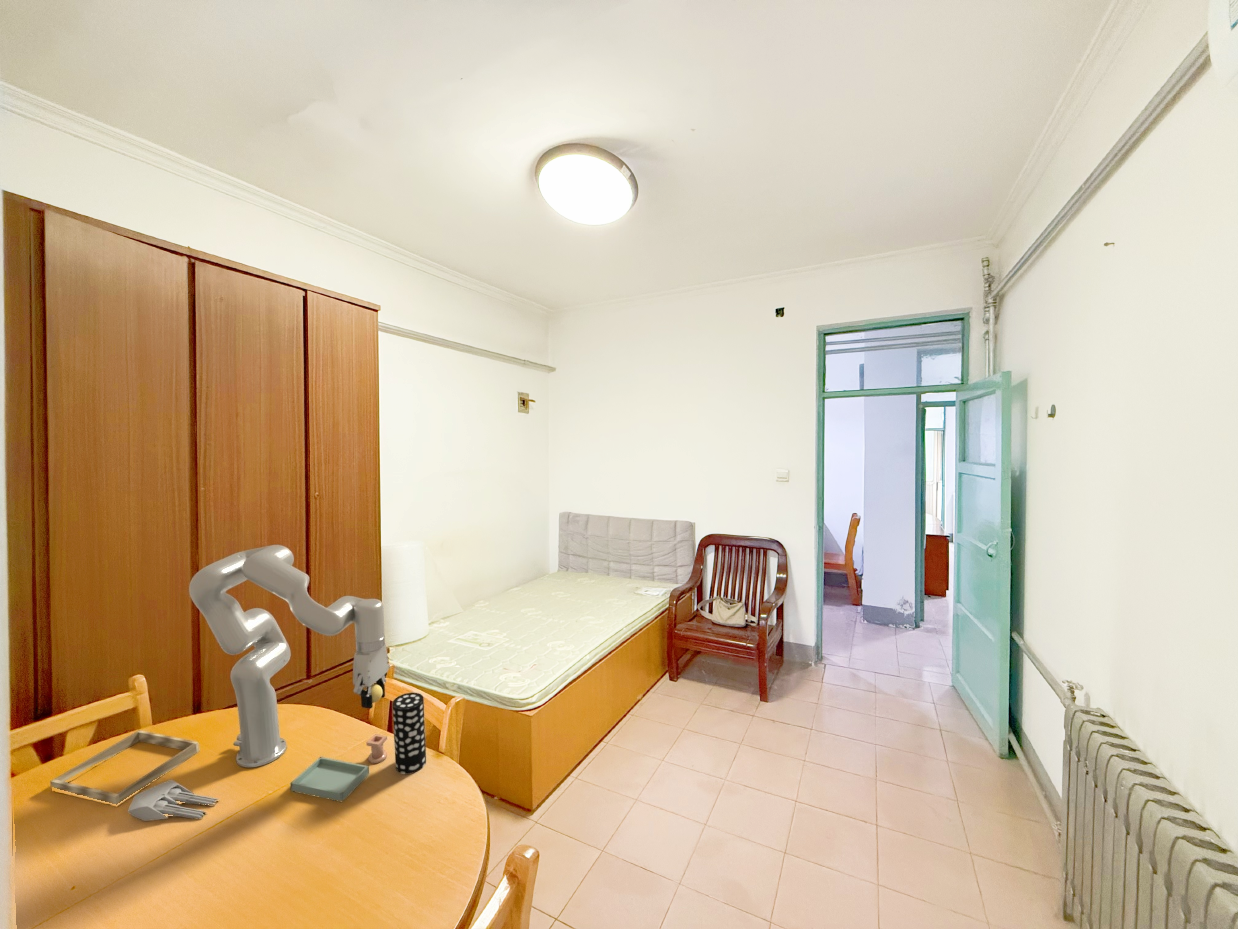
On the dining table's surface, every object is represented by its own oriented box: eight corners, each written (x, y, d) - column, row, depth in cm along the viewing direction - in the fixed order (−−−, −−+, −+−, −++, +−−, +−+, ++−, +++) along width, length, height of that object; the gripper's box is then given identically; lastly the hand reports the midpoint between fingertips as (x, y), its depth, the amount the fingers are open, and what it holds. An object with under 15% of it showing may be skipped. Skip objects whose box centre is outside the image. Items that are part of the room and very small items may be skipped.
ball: (360, 705, 161) (359, 688, 160) (371, 695, 166) (370, 679, 165) (375, 707, 160) (374, 691, 159) (386, 698, 165) (385, 682, 164)
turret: (195, 834, 141) (196, 817, 140) (116, 819, 141) (117, 803, 140) (224, 804, 151) (225, 788, 150) (151, 790, 151) (151, 775, 150)
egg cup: (364, 761, 164) (363, 743, 163) (375, 750, 169) (374, 732, 168) (379, 764, 163) (378, 746, 162) (390, 753, 168) (389, 735, 167)
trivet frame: (51, 791, 151) (50, 781, 150) (140, 739, 173) (138, 730, 172) (116, 807, 146) (115, 796, 145) (199, 751, 167) (198, 742, 167)
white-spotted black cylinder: (416, 776, 159) (413, 711, 156) (389, 771, 160) (386, 707, 157) (431, 756, 167) (429, 694, 164) (406, 752, 168) (403, 691, 165)
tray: (291, 791, 152) (290, 783, 152) (321, 764, 163) (320, 756, 162) (342, 802, 149) (341, 794, 148) (369, 773, 159) (368, 766, 159)
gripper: (378, 628, 169) (380, 684, 172) (338, 655, 153) (341, 717, 156) (400, 631, 167) (402, 688, 170) (362, 659, 151) (365, 721, 154)
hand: (373, 701), depth 163 cm, fingers closed on ball, 4 cm apart
